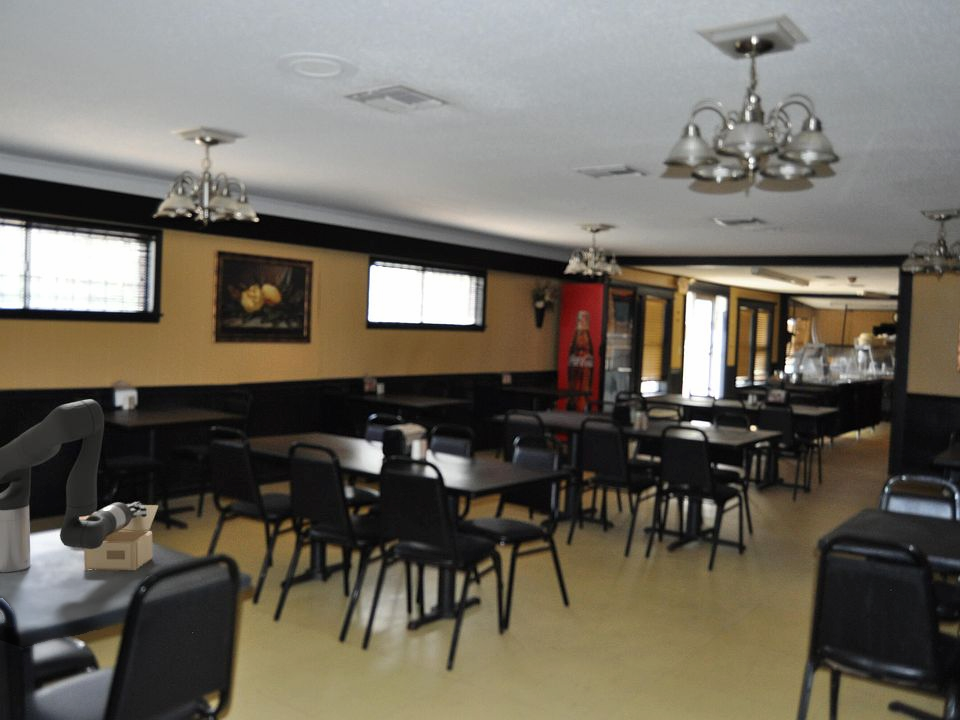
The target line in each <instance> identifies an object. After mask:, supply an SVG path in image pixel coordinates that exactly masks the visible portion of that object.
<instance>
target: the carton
mask: <svg viewBox="0 0 960 720" xmlns="http://www.w3.org/2000/svg"><path fill="white" fill-rule="evenodd" d="M152 559H153V532H152V530H119V531H117V532H115V533H113V534H110V535H108V536H106V538H105V539H104V541H103V543H102V545H101V546H100V547H98V548H95V549H85V548H83V561H84V570H85V569H92V570H91V571H118V570H135V571H136V569H137V568H138V569H139V568H140V566H141V567H142V566H144V565H145V564H146V563H148V562H149V561H150V560H152ZM143 564H144V565H143ZM95 569H96V570H95ZM138 569H137V570H138Z"/></svg>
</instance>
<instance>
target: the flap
mask: <svg viewBox="0 0 960 720" xmlns="http://www.w3.org/2000/svg"><path fill="white" fill-rule="evenodd" d="M142 505H143V506H144V507H146V513H147V516H146V517H142V516H139V515H137V517H135V518H132V519H131V521H130V523H129V524H128V525H127V526H126V527H124V528H122V529H121V530H120V531H150V529H151V527H152V523H153V522H154V519H155V516H156V513H157V512H158V511H157V510H158V509H159V505H158V504H153V505H152V504H148V505H147V504H142Z"/></svg>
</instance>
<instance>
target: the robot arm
mask: <svg viewBox="0 0 960 720" xmlns="http://www.w3.org/2000/svg"><path fill="white" fill-rule="evenodd" d="M104 430H105V417H104V411H103V408H102V407H101V405H100V404H99V402H98V401H96V400H94V399H91V398H90V399H83V400H78V401H73V402H70V403H65V404H61V405H59V406H57V407H55V408H54V409H53V410H52V411H51V412H49V414H48V415H47V416H46V417H45V418H44V419H43V420H42V421H41V422H38V423H37V424H35V425H34V426H32V427H30V428H29V429H28V430H26V431H25V432H23V433H21V434H20V435H19V436H18V437H16V438H14V439H13V440H11V441H10V442H9V443H7V444H5V445H4V446H2V447H0V485H3V484H9V483H10V484H9V486H8V487H7V488H6V489H5V490H3V491H2V492H0V573H12V572H18V571H22V570H25V569H28V568H30V567H31V565H32V564H31V563H32V562H31V532H30V531H31V529H30V527H31V526H30V525H31V524H30V522H31V521H30V496H31V476H32V467H35V466H38V465H41V464H43V463H45V462H46V461H49V460H50V459H52V458H53V457H55V456H56V455H57V454H58V453H59V451H60V450H61V447H62V444H65V443H70V442H74V441H78V440H82V445H81V449H80V451H79V455H78V457H77V458H76V462H75V463H74V465H73V467H72V469H71V471H70V473H69V475H68V478H67V480H66V481H67V482H66V485H65V486H66V487H65V491H66V495H65V496H66V509H65V515H64V518H63V523H62V526H61V529H60V531H59V539H60V541H61V543H62V544H63V545H64V546H66V547H69V548H77V549H84V548H85V549H95V548H98V547H100V546H101V545H102V543H103V541H104V539H105V538H106V536H108V535H110V534H113V533H115V532H117V531H122V530H121V529H122V528H124V527H126V526H127V525H128V524H129V523H130V521H131V519H132V518H135V517H137V515H139V516H142V517H146V516H147V513H146V507H144V506H143V505H144V504H142V503H141V501H134V502H132V503H127V504H126V503H123V502H119V501H118V502H113V503H111V504H109V505H107V506H104V507H103V508H101V509H99V510H98V511H97V508H98V494H97V493H98V489H97V487H98V486H97V485H98V484H97V483H98V482H97V481H98V480H97V479H98V467H99V461H100V457H101V451H102V441H103V436H104ZM94 512H96V513H94ZM93 513H94V514H93ZM91 514H92V515H91ZM89 515H91V516H89ZM84 516H89V517H88V518H87V519H86V520H79V517H84Z"/></svg>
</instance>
